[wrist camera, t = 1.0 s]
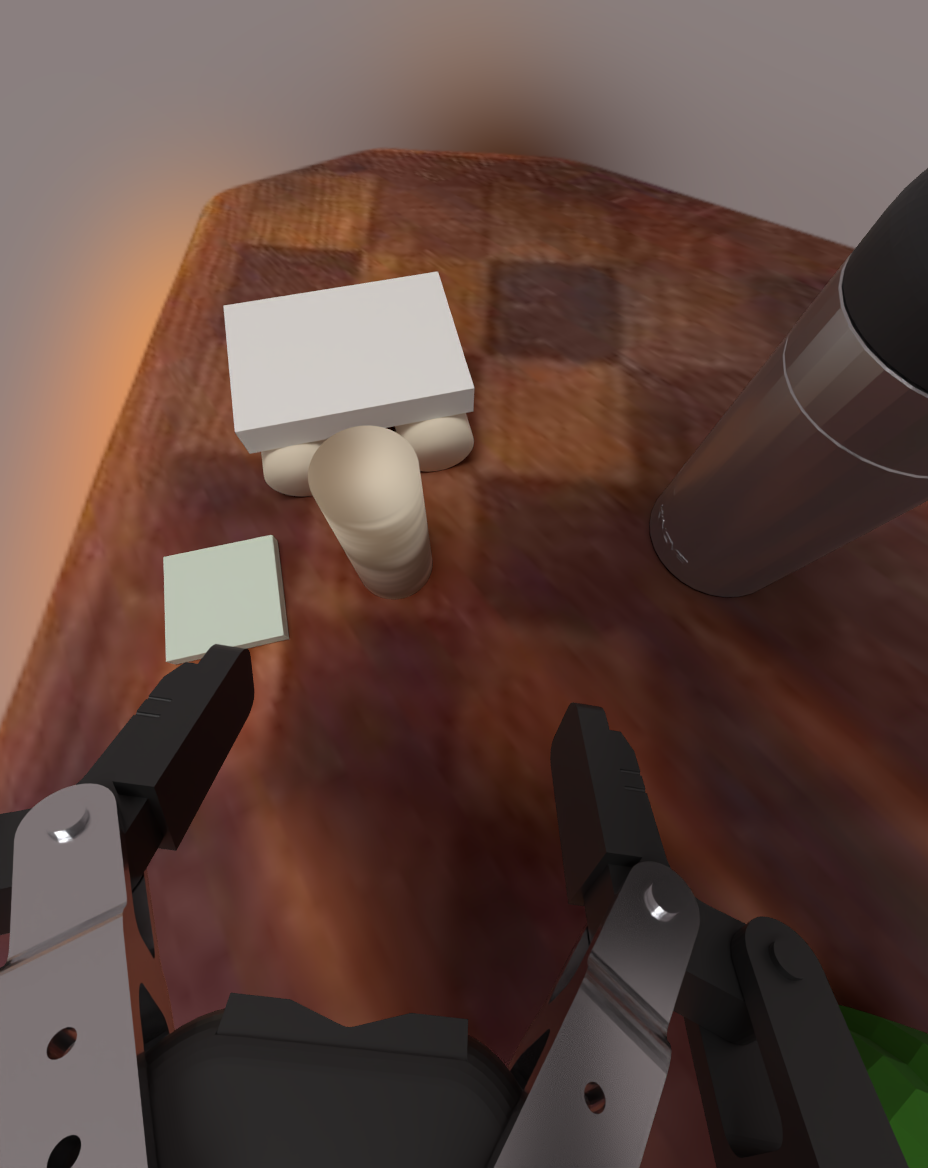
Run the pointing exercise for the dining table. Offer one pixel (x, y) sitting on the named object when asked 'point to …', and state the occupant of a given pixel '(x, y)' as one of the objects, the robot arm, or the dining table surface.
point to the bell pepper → (896, 1077)
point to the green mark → (223, 598)
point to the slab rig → (348, 373)
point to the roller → (375, 507)
